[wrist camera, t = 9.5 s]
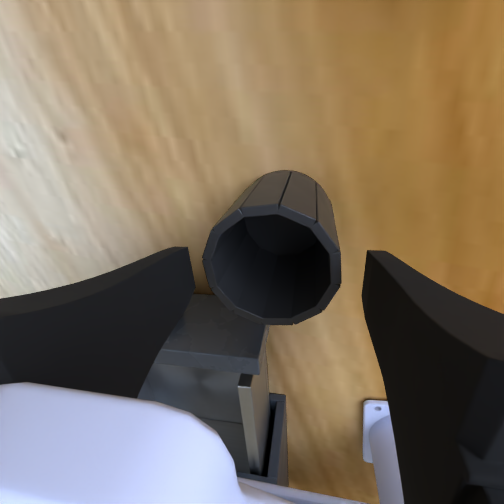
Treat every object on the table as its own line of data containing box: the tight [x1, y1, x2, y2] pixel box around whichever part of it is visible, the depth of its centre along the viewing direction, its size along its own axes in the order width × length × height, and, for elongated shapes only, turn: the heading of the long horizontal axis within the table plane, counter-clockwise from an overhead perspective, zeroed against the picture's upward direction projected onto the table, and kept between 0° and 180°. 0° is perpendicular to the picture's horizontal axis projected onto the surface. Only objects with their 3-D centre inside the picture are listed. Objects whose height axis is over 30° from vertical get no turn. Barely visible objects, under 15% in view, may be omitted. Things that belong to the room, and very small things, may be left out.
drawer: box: [137, 294, 271, 477], centre depth 20 cm, size 15×12×5 cm
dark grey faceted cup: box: [202, 170, 341, 325], centre depth 14 cm, size 5×5×6 cm
